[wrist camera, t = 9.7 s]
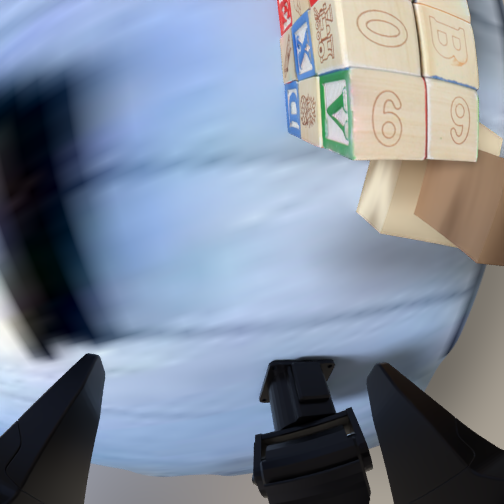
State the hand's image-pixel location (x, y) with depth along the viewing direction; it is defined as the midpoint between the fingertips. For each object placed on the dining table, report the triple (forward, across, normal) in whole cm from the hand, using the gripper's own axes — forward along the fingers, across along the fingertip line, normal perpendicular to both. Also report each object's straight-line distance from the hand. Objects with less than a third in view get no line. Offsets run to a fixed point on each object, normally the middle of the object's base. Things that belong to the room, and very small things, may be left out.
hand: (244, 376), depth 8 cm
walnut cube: (+8, -13, -6) cm, 17 cm away
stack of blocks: (+12, -3, -17) cm, 21 cm away
